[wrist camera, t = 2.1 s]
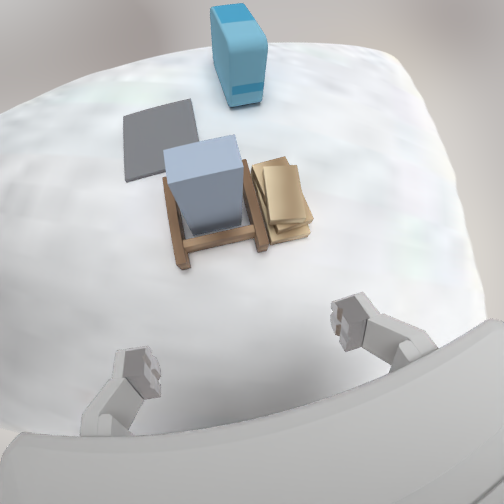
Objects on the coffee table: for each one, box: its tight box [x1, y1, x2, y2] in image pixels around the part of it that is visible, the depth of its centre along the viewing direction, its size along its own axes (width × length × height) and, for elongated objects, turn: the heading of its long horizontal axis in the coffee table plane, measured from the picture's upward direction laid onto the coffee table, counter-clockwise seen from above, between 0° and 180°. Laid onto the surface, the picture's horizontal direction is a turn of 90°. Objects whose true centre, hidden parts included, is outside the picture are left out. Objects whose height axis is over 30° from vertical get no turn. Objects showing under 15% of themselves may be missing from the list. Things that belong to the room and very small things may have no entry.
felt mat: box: [123, 99, 199, 182], centre depth 35 cm, size 10×11×1 cm
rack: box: [163, 159, 269, 270], centre depth 31 cm, size 10×10×3 cm
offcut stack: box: [251, 156, 314, 245], centre depth 31 cm, size 5×9×4 cm, turn 14°
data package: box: [210, 3, 268, 107], centre depth 32 cm, size 12×4×12 cm, turn 16°
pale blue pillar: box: [163, 135, 244, 236], centre depth 26 cm, size 6×3×13 cm, turn 104°
